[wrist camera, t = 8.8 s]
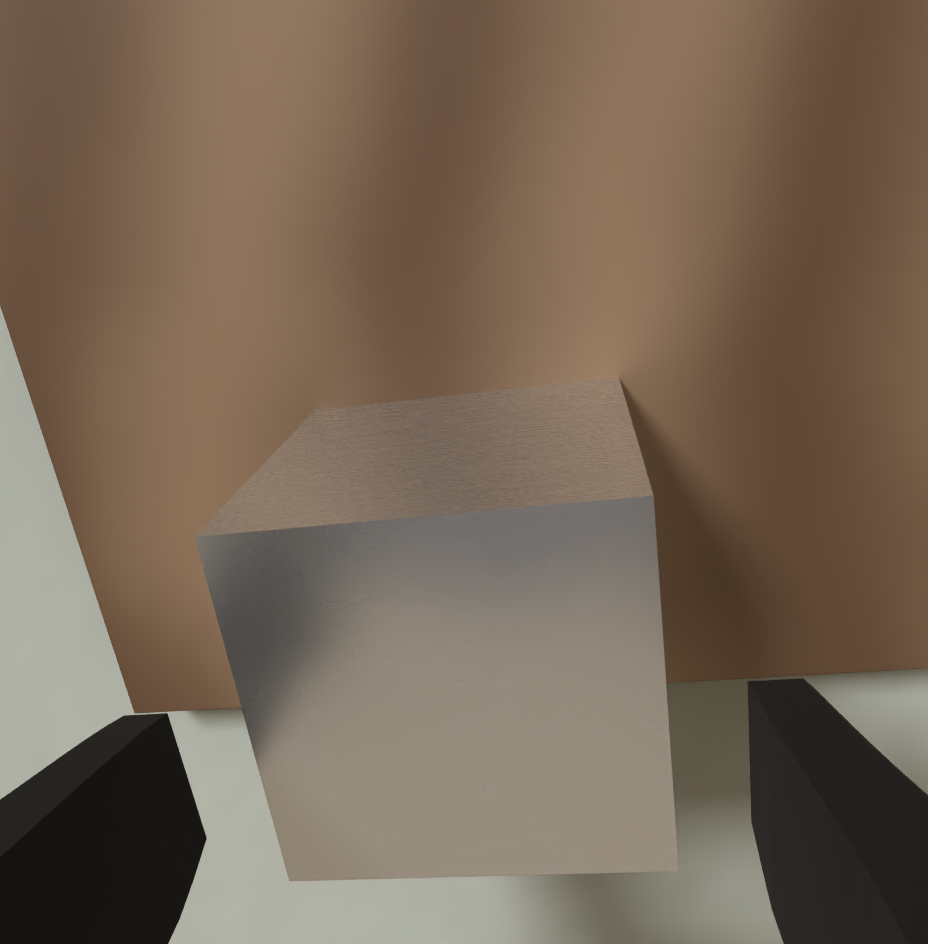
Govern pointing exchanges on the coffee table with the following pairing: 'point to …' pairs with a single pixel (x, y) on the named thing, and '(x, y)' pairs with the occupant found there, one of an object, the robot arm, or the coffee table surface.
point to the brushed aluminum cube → (453, 638)
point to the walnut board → (485, 282)
